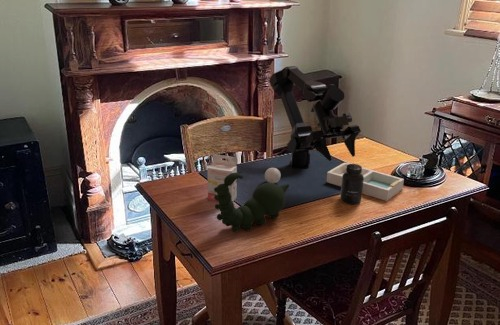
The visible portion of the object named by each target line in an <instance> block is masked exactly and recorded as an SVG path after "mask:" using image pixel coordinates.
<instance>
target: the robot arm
mask: <svg viewBox="0 0 500 325" xmlns="http://www.w3.org/2000/svg"><path fill="white" fill-rule="evenodd" d="M269 84H270V86H271V87H272V89H273V92H275V94H277V95H278V96H280V99H281V102H282V105H283V107H284V110H285V113H286V116H287V118H288V121H289V124H290V126H291V134H290V140H289V141H288V142H287V143H286V146H287V150H288V151H289V152H290V153H291V157H290V161H289V163H290V166H291V168H292V169H298V168H299V169H305V168H306V169H309V168H310V166H309V165H310V164H311V154H310V151H313V150H314V149H315V150H316V151H317V152H319V153H320V154H321V155H322V156H324V158H325V159H326V160H328V161H329V162H331V161H332V160H333V159H332V156H331V153H330V151H329V148H328V146H327V140H328V139H336V138H342V140H344V141H343V143H344V145H345V147H346V148H347V150H348V152H349V154H350V155H351V156H352V158H354V157H355V156H356V146H355V144H356V138H357V137H358V136H359V134H361V132H362V129H361V128H360V126H359V125H357V124H355V125H353V124H352V125H350V124H349V123H352V122H353V117H352V114H351V113H350V112H345V113H342V115H340V116H339V115H338V114H335V113H334V111H333V110H335V109H336V108H337V107H338V106H339V105H340V104H342V102H343V100H344V99H345V92H344V91H343V90H342V89H341V88H340V87H337V86H336V84H335V83H334V84H333V83H332V84H328V86H327V85H326V84H325V83H323V82H320V81H315V80H312V79H311V78H310V77H308V75H306V74H305V73H303V72H302V71H301V70H300V69H299V67H298V66H295V65H293V66H292V65H291V66H285V67H284V68H282V69H281V70H278V71H276V72H275V73H272V75H271V76H270V78H269ZM294 85H295V86H297V87H298V88H299V89H300V90H301V91H302V96H303V97H304V98H305V100H306V101H307V102H308V103H314V102H316V103H314V104H312V107H311V110H310V112H311V113H315V116H316V119H317V122H318V123H317V127H318V128H320V129H321V130H315V131H313V128H312V126H311V125H310V124H308V125H307V124H306V123H305V122H304V120H303V117H302V113H301V112H300V107H299V105H298V104H297V100H296V98H295V96H294V92H293V88H294ZM344 126H347V127H346V128H345V129H344ZM343 129H344V130H343Z"/></svg>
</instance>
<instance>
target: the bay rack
mask: <svg viewBox="0 0 500 325" xmlns="http://www.w3.org/2000/svg"><path fill="white" fill-rule="evenodd" d="M348 164H349V163H348V162H343V163H341V164H339V165H338V166H336V167H334V168H332V169H331V170H328V171H327V173H326V183H329V184H332V185H335V186H338V187H341V185H342V176H343V174H344V173H345V172H346V168H347V165H348ZM361 167H362V166H361ZM361 174H362V175H363V177H364V182H363V190H362V195H363V194H364V195H365V196H370V197H373V198H376V199H379V200H383V201H386V202H388V201H389V200H390V199H391V198H393V197H395V196H396V195H397V194H399V193H400V192H401V191H403V188H404V181H405V179H404V178H402V177H398V176H394V175H391V174H388V173H383V172H381V171H377V170H373V169H370V168H367V167H362V173H361Z"/></svg>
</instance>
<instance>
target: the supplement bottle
mask: <svg viewBox="0 0 500 325" xmlns="http://www.w3.org/2000/svg"><path fill="white" fill-rule="evenodd" d="M361 173H362V166H361V165H360V164H357V163H348V165H347V168H346V172H345V173H344V174H343V176H342V185H341V186H340V195H339V199H340V200H341V202H342V203H345V204H347V205H358V204H359V203H361V202H362V196H363V193H362V190H363V182H364V177H363V175H362V174H361Z"/></svg>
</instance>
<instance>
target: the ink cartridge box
mask: <svg viewBox="0 0 500 325" xmlns="http://www.w3.org/2000/svg"><path fill="white" fill-rule="evenodd" d="M223 159H225V160H223ZM212 161H213V162H212V163H211V164H210V165H209V166H207V200H208V201H212V202H215V203H216V202H218V200H215V198H214V196H215V195H218V194H217V192H215V191H214V188H215V187H217V186H218V185H220V184H224V179H225V177H226V176H228V175H229V174H231V173H238V170H237V168H238V166H237V158H236V157H234V156H230V155H229V156H228V155H222V154H215V153H213V154H212ZM237 180H238V179H237ZM237 180H235V181H234V183H233V184H231V185H230V186H228V187H229V193H230V194H231V200H232V201H233V203H234V202H235V200H236V199H237V198H238V197H237V196H238V195H237V193H238V192H237V191H238V190H237V189H238V188H237V187H238V186H237ZM218 203H219V202H218Z"/></svg>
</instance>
